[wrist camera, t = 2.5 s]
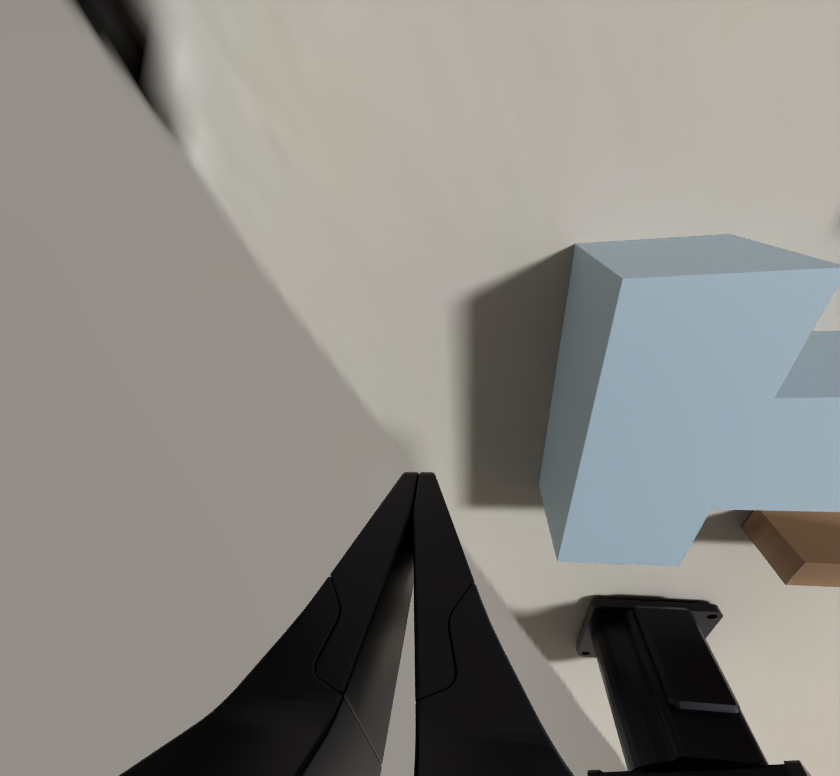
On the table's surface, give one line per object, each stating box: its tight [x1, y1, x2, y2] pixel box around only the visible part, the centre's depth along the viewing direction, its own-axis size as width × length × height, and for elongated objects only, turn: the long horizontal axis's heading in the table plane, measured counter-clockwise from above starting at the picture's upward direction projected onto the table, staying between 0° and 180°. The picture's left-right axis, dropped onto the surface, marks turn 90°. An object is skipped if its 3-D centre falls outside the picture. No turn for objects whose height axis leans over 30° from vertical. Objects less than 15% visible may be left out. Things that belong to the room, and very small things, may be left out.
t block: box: [539, 234, 840, 566], centre depth 11 cm, size 10×11×4 cm
